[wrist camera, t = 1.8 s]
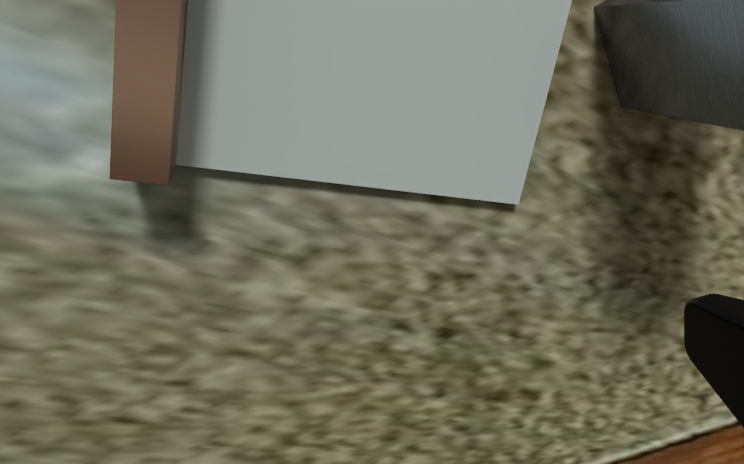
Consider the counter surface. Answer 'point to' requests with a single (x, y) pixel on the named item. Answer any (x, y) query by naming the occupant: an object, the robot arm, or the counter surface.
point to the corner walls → (147, 89)
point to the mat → (370, 91)
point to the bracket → (677, 57)
